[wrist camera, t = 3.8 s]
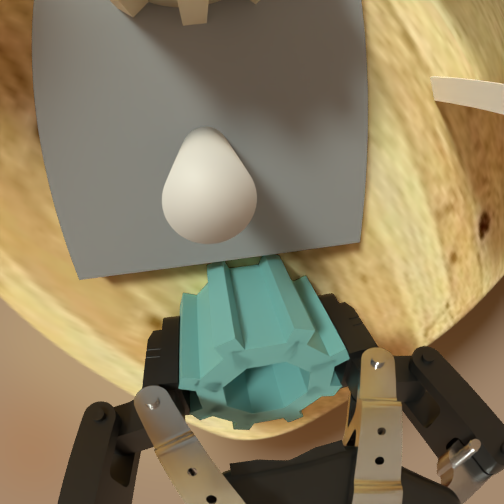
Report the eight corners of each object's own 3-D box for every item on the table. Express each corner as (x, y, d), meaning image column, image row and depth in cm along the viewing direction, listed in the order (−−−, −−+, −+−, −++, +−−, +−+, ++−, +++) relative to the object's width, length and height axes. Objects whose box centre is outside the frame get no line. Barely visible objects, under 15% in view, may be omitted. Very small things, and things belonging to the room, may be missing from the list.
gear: (312, 245, 12) (360, 314, 8) (306, 342, 15) (334, 411, 11) (170, 264, 12) (161, 347, 8) (195, 360, 15) (200, 435, 11)
